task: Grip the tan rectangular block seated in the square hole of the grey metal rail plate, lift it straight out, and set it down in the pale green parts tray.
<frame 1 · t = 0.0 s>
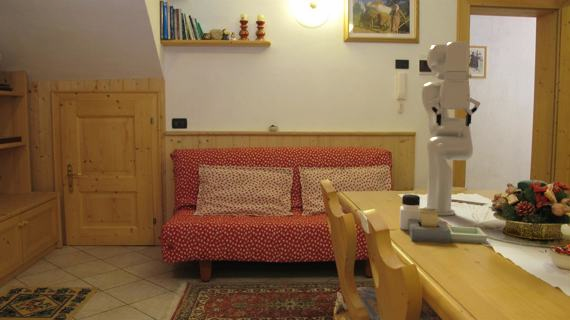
hand: (453, 125, 170), 37 cm above the table, tool pointing down, fingers open, 9 cm apart
tan rectangular block: (428, 223, 159), in the rail plate
rail plate: (428, 236, 159), on the table
parts tray: (464, 237, 158), on the table
medicine bottle: (409, 228, 171), on the table
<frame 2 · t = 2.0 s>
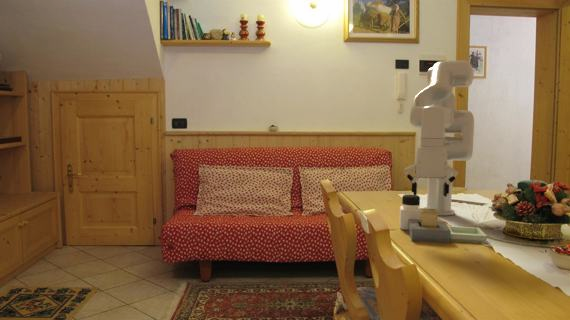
hand: (429, 195, 157), 14 cm above the table, tool pointing down, fingers open, 9 cm apart
nothing on the table moved.
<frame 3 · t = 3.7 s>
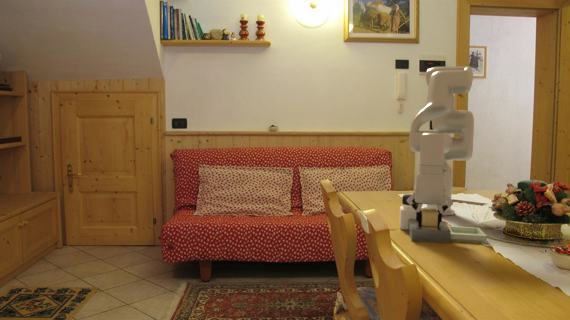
hand: (428, 223, 159), 5 cm above the table, tool pointing down, fingers closed on tan rectangular block, 5 cm apart
tan rectangular block: (428, 223, 159), in the rail plate, touching gripper
everything else where it was.
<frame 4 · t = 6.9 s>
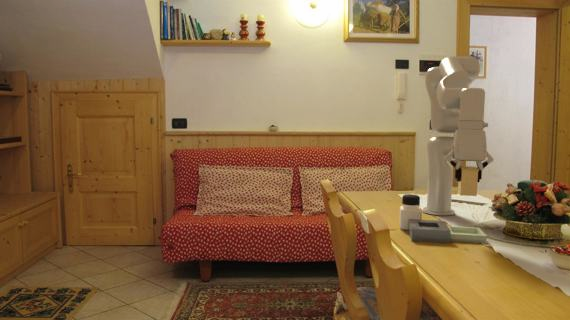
hand: (467, 180, 156), 19 cm above the table, tool pointing down, fingers closed on tan rectangular block, 5 cm apart
tan rectangular block: (467, 180, 156), point 19 cm above the table, touching gripper
everything else where it was.
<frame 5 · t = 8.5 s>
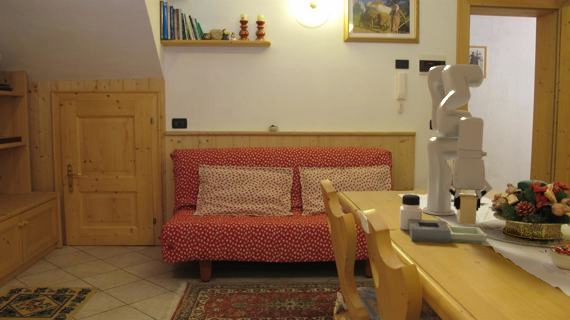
hand: (466, 208, 157), 10 cm above the table, tool pointing down, fingers closed on tan rectangular block, 5 cm apart
tan rectangular block: (466, 209, 157), point 10 cm above the table, touching gripper
everything else where it was.
when the fingers open (7 cm above the table, at t = 9.9 s): tan rectangular block drops 2 cm, resting on parts tray.
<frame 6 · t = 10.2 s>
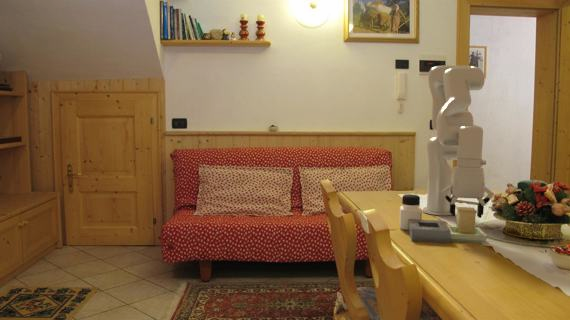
hand: (466, 215, 157), 7 cm above the table, tool pointing down, fingers open, 7 cm apart
tan rectangular block: (465, 222, 158), in the parts tray, point 5 cm above the table
everything else where it was.
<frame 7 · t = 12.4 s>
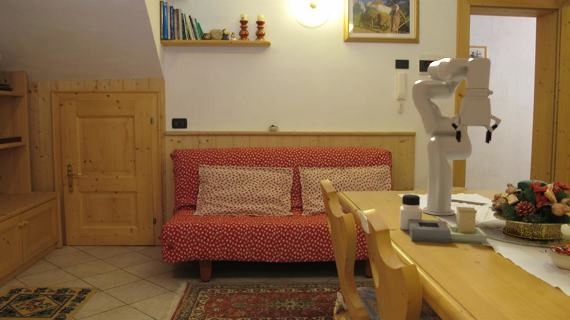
hand: (472, 142, 168), 31 cm above the table, tool pointing down, fingers open, 9 cm apart
nothing on the table moved.
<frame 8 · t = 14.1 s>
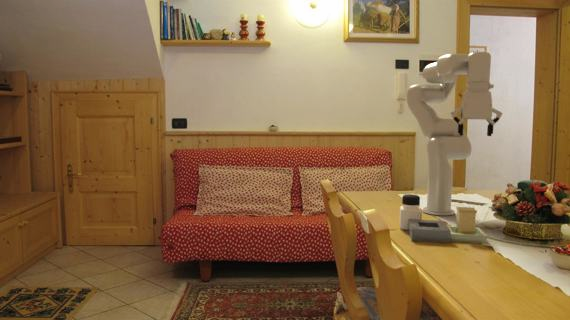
hand: (474, 135, 171), 33 cm above the table, tool pointing down, fingers open, 9 cm apart
nothing on the table moved.
at the end: tan rectangular block inside the target area on the parts tray (0.1 cm from its centre), point 5.3 cm above the parts tray's base; tan rectangular block tilted 0°; the gripper is holding nothing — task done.
